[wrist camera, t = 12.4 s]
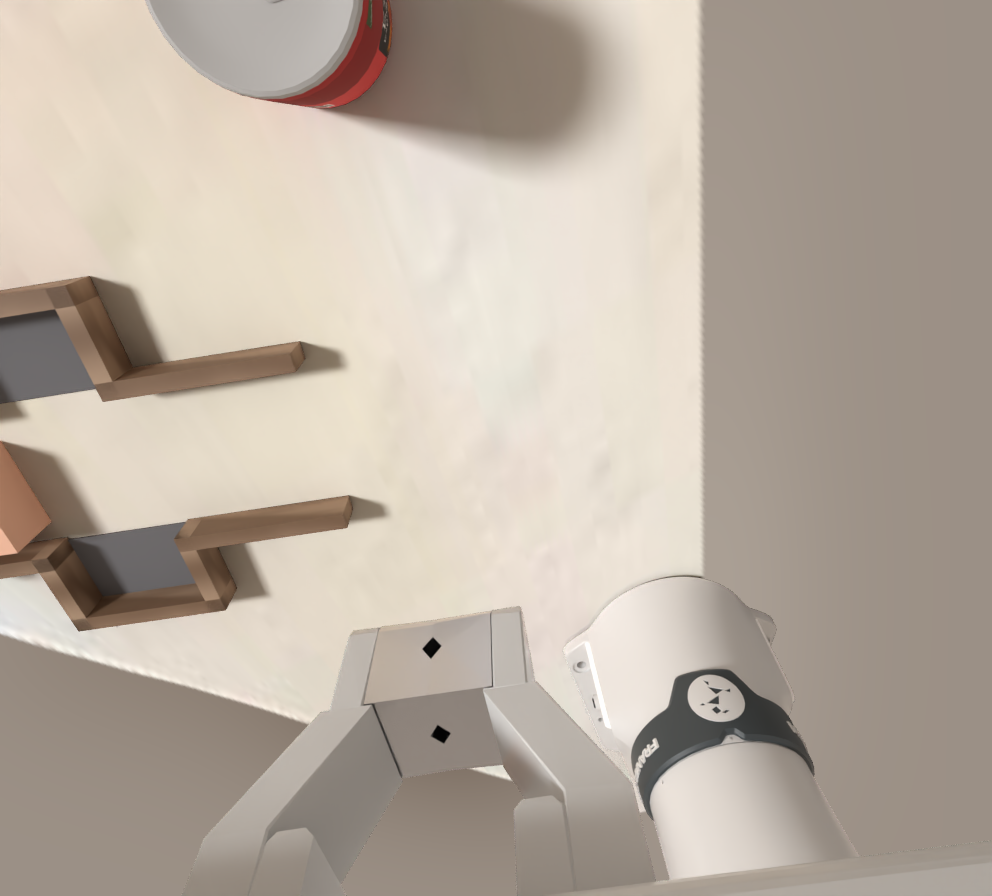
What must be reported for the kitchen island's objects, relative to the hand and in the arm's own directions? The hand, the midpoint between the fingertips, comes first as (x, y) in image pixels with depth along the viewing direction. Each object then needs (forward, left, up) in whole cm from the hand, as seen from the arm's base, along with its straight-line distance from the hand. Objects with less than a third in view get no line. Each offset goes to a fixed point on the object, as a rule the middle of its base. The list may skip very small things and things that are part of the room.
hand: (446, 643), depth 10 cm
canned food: (+14, +5, -30) cm, 34 cm away
